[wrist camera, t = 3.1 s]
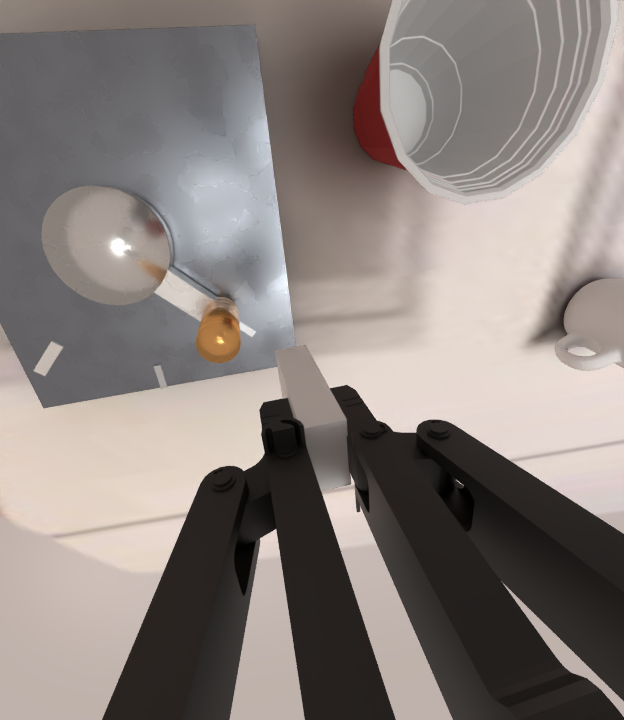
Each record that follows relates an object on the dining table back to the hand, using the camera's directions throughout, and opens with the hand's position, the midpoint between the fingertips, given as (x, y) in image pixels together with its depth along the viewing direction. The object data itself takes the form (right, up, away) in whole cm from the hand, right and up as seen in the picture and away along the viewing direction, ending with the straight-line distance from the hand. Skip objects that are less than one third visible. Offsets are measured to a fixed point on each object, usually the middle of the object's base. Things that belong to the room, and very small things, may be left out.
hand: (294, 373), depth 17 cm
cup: (+28, +5, +19) cm, 34 cm away
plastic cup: (+6, +18, +8) cm, 21 cm away
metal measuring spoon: (-10, +7, +7) cm, 14 cm away
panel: (-11, +9, +8) cm, 17 cm away
